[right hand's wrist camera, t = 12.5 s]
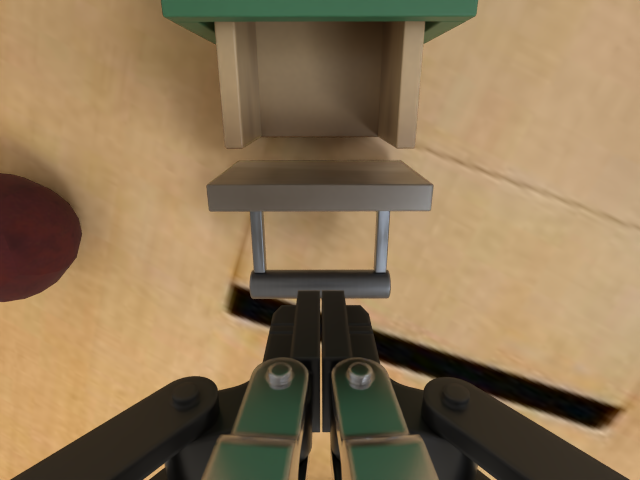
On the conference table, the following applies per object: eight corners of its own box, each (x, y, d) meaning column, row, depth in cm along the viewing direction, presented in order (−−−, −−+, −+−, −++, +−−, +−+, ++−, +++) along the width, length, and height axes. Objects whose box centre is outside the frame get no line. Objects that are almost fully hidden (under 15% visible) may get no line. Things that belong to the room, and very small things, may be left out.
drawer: (394, 264, 25) (420, 321, 19) (245, 265, 25) (220, 322, 19) (425, -178, 17) (487, -339, 11) (212, -178, 17) (149, -340, 11)
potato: (-40, 173, 24) (-178, 201, 17) (79, 152, 23) (-16, 173, 17) (12, 279, 26) (-91, 339, 20) (120, 262, 26) (51, 317, 19)
